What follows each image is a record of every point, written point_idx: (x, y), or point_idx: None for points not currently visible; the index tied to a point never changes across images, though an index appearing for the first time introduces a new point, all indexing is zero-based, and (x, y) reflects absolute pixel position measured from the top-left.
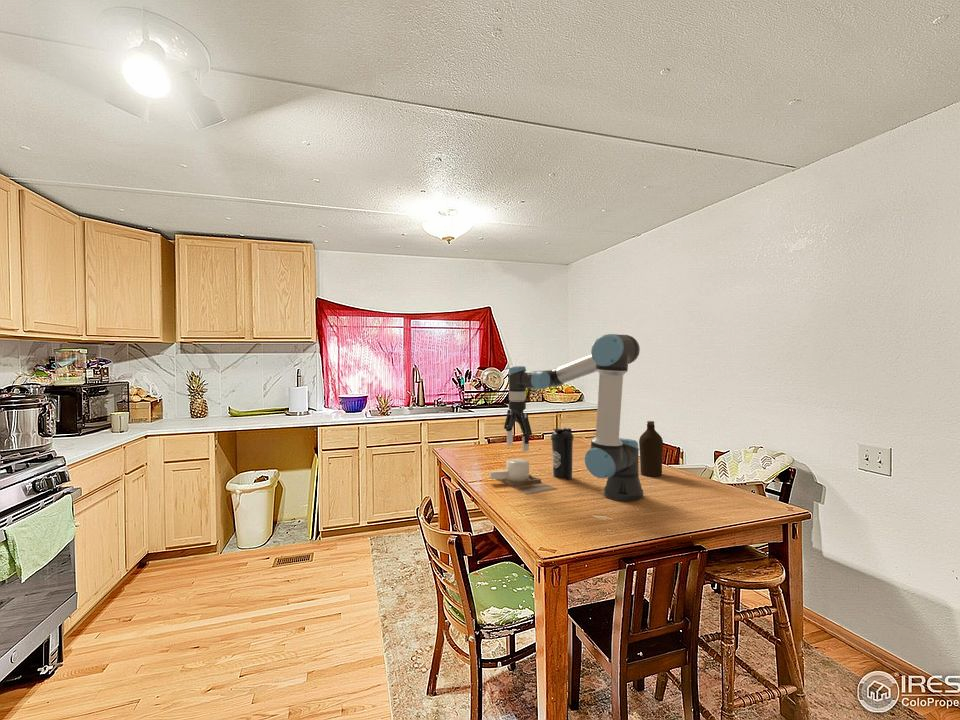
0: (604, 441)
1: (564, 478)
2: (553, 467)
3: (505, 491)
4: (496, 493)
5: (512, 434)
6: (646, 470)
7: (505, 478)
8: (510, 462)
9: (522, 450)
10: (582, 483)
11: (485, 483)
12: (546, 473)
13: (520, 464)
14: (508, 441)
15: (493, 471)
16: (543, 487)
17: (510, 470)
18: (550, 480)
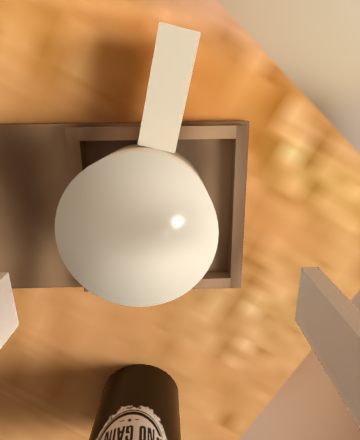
0: None
1: (104, 389)
2: (147, 405)
3: (52, 72)
4: (35, 6)
5: (350, 410)
6: None
7: (229, 173)
8: (128, 173)
9: (3, 274)
10: (41, 412)
11: (237, 46)
12: (235, 380)
13: (57, 214)
14: (319, 299)
15: (179, 53)
16: (6, 251)
17: (112, 153)
18: (132, 341)
